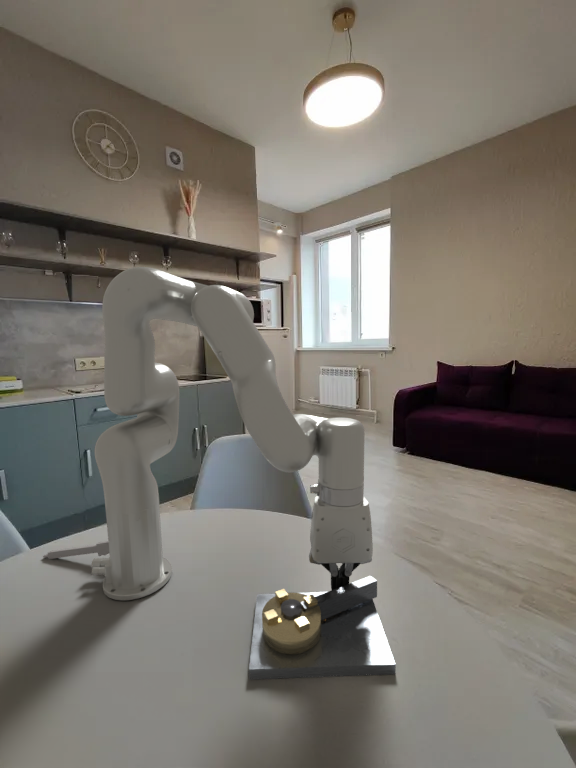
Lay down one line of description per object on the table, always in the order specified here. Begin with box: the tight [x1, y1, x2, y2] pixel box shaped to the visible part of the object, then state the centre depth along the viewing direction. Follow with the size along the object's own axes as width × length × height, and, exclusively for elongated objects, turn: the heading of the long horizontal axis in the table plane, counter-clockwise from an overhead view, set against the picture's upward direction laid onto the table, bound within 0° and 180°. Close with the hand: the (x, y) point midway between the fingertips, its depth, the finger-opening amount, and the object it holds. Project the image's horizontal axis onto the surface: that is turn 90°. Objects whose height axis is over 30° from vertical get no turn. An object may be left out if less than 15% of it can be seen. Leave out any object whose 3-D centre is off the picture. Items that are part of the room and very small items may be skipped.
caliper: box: [42, 540, 109, 560], centre depth 78 cm, size 20×1×6 cm, turn 81°
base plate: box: [248, 591, 397, 680], centre depth 57 cm, size 20×15×2 cm
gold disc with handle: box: [262, 575, 378, 654], centre depth 58 cm, size 9×20×4 cm, turn 116°
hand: (339, 593), depth 63 cm, fingers closed
